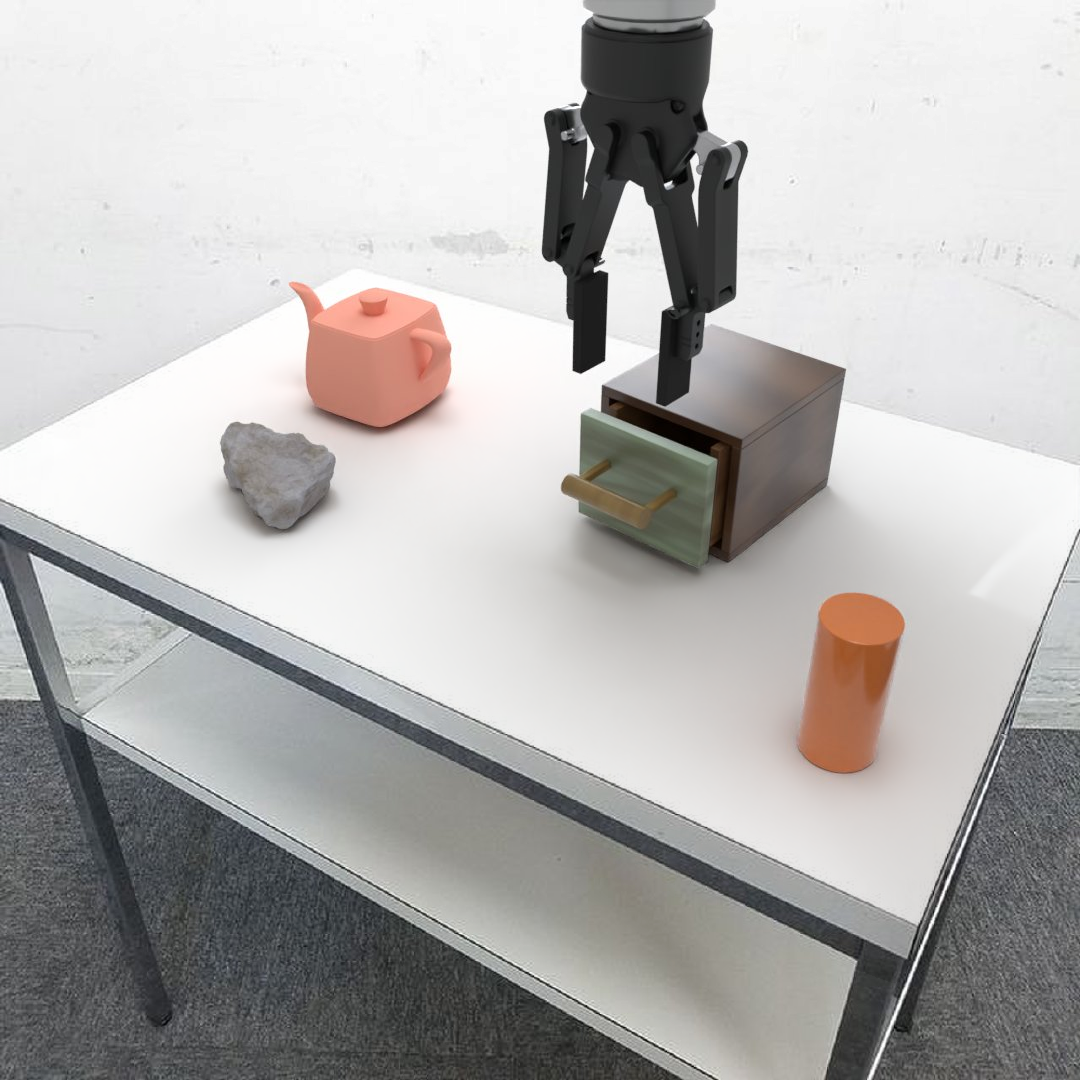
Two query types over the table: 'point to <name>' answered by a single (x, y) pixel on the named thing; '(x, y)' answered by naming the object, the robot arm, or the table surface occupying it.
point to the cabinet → (751, 424)
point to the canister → (849, 681)
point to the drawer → (652, 480)
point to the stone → (276, 471)
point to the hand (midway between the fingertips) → (629, 380)
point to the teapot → (374, 354)
